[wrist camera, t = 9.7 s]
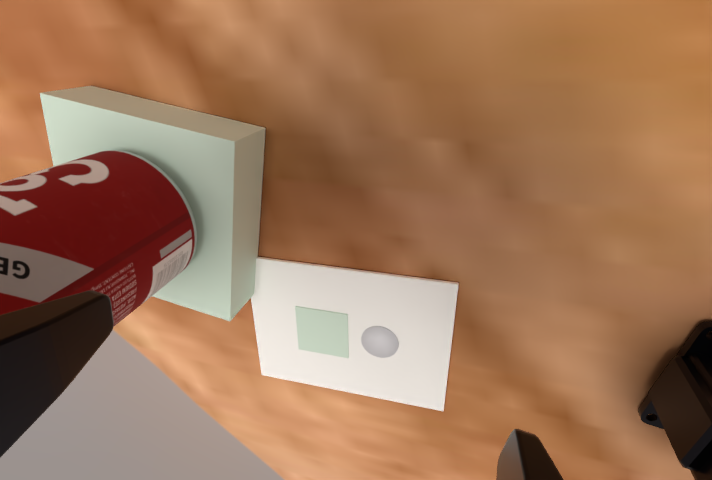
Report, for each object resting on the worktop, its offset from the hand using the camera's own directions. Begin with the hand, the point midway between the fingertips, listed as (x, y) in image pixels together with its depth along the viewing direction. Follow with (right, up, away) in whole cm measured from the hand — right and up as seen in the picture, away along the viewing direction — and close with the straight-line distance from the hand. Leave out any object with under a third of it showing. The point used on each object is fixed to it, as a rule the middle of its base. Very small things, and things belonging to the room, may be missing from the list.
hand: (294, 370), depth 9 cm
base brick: (-9, +5, +15) cm, 18 cm away
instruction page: (+1, -3, +16) cm, 16 cm away
